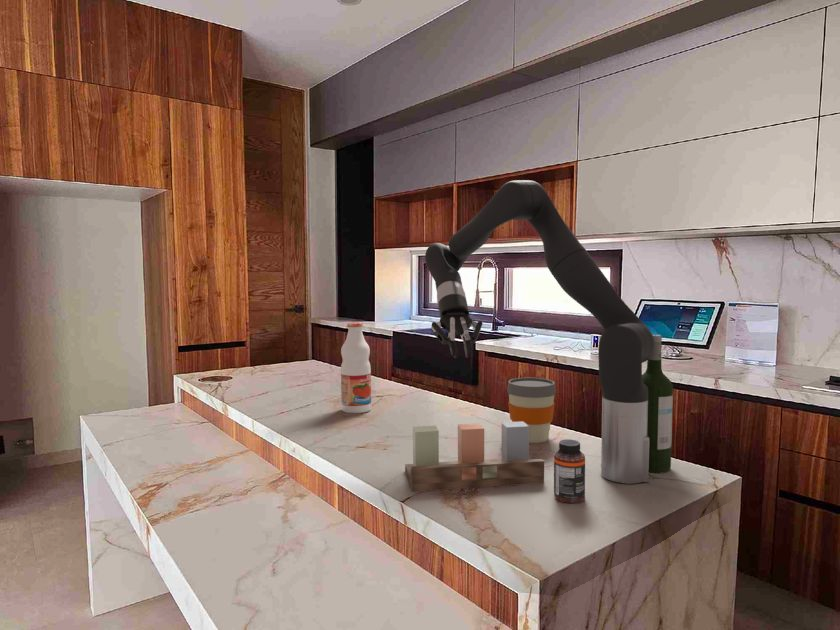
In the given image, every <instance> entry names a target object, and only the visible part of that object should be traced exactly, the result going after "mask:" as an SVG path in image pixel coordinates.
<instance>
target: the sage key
mask: <svg viewBox="0 0 840 630" xmlns="http://www.w3.org/2000/svg"><path fill="white" fill-rule="evenodd" d="M439 433H440V432H439V429H438V427H437V426H436V425H422V426H421V425H420V426H419V425H418V426H412V457H413V458H412V459H413V460H412V461H413V463H412V464H413V466H430V465H439V462H440V457H439V456H440V455H439V454H440V451H439V450H440V448H439V447H440V445H439V444H440V443H439V440H440V438H439V437H440V436H439Z"/></svg>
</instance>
